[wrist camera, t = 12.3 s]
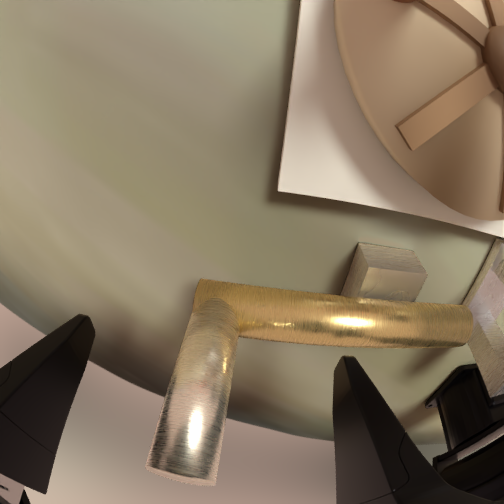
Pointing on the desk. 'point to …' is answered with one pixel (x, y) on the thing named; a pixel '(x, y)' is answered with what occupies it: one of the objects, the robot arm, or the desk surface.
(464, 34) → the handwheel
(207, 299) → the hook rod
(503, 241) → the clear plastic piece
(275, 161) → the desk surface
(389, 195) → the wheel base
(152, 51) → the desk surface
